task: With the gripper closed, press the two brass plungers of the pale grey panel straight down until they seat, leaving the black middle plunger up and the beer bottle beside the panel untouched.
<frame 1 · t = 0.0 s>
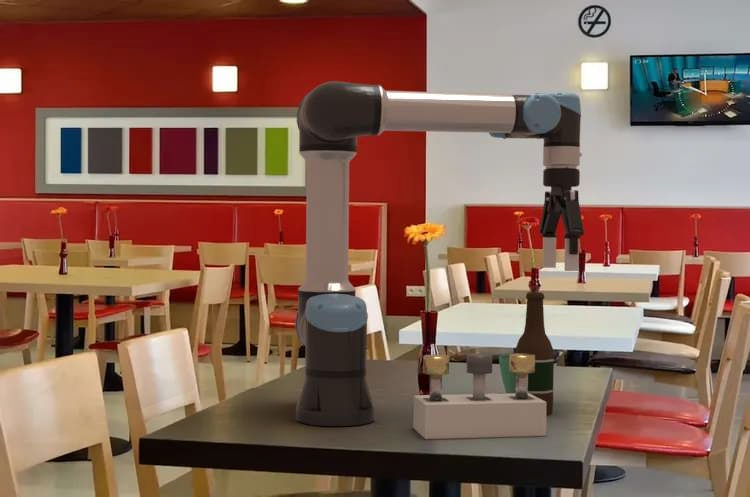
hand: (560, 269, 227), 28 cm above the table, fingers open, 13 cm apart
knob mid: (479, 377, 195), point 10 cm above the table, slide at 4.0 cm
mug: (525, 404, 226), on the table
knob left: (436, 378, 193), point 10 cm above the table, slide at 4.0 cm
beer bottle: (533, 413, 215), on the table
knob right: (521, 377, 196), point 10 cm above the table, slide at 4.0 cm
panel: (478, 431, 195), on the table
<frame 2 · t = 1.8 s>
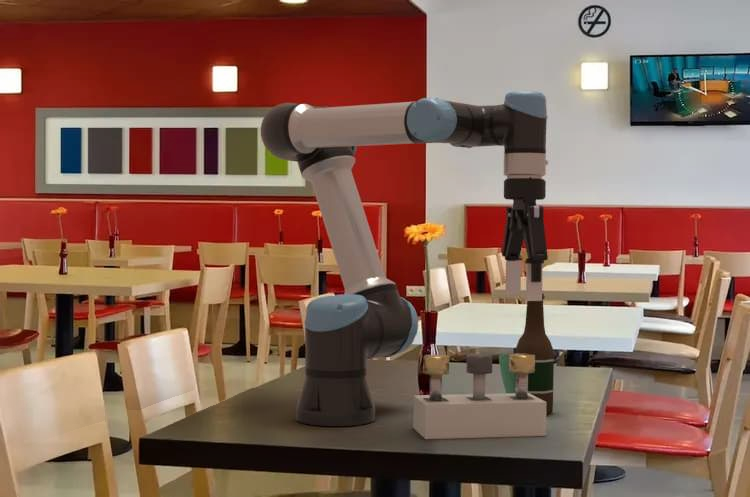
hand: (523, 298, 196), 24 cm above the table, fingers open, 11 cm apart
nothing on the table moved.
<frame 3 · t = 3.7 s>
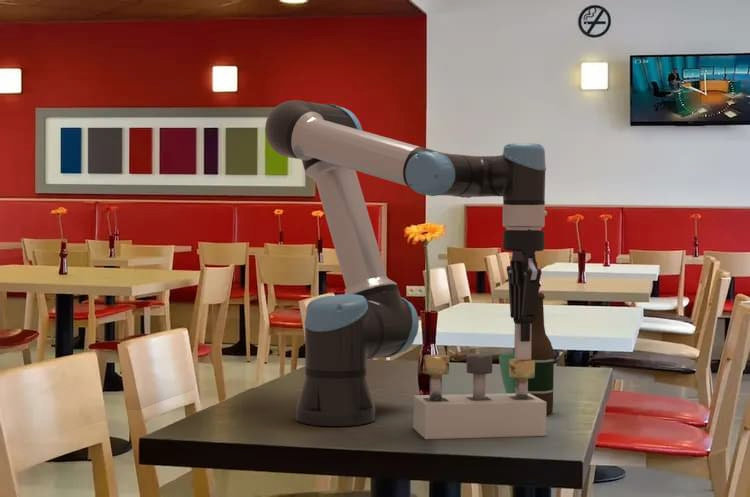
hand: (522, 358, 196), 13 cm above the table, fingers closed
knob right: (521, 382, 196), point 9 cm above the table, slide at 3.0 cm, touching gripper
everything else where it was.
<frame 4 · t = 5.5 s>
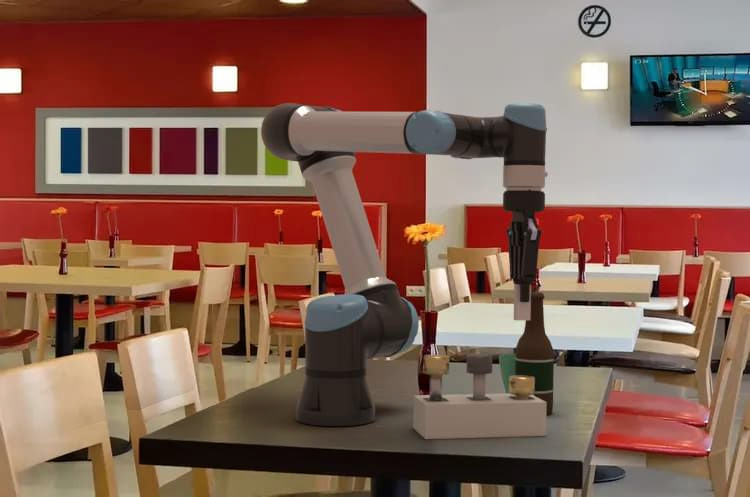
hand: (522, 319, 196), 20 cm above the table, fingers closed
knob right: (521, 398, 196), point 6 cm above the table, slide at 0.0 cm
everything else where it was.
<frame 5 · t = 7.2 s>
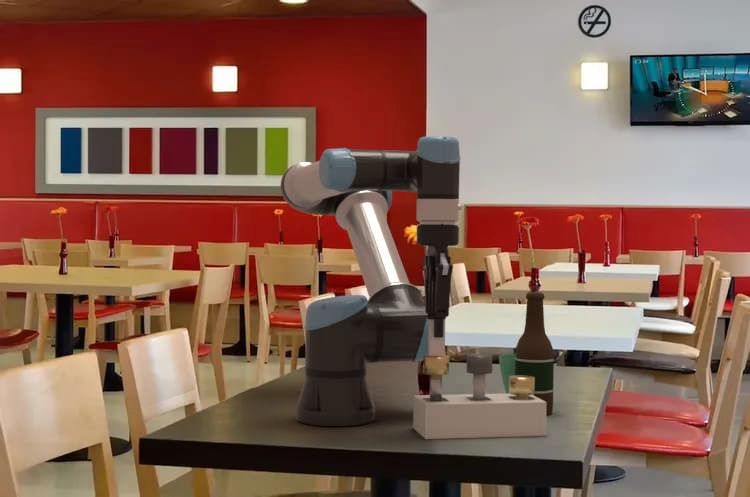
hand: (436, 355, 193), 14 cm above the table, fingers closed
knob left: (436, 378, 193), point 10 cm above the table, slide at 3.9 cm, touching gripper
everything else where it was.
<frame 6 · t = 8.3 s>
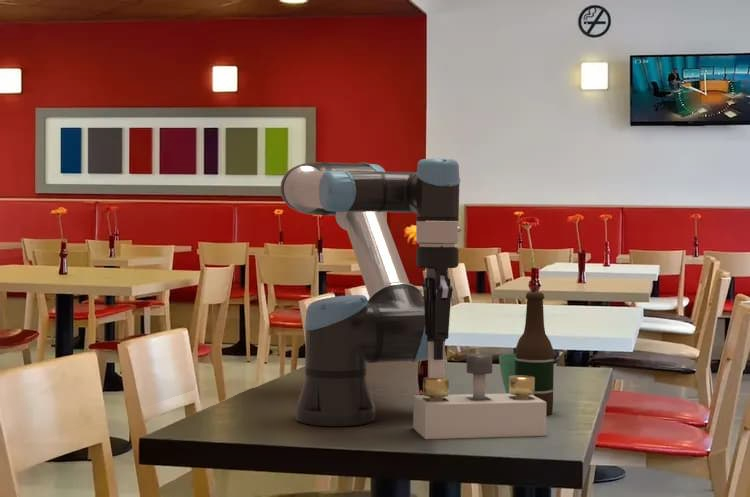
hand: (436, 377, 193), 10 cm above the table, fingers closed
knob left: (435, 400, 194), point 6 cm above the table, slide at 0.0 cm, touching gripper
everything else where it was.
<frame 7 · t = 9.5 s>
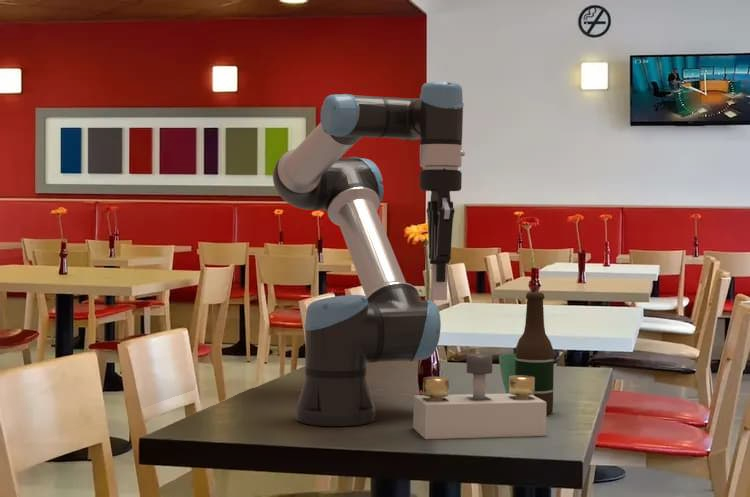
hand: (438, 299, 195), 24 cm above the table, fingers closed
knob left: (435, 400, 194), point 6 cm above the table, slide at 0.0 cm
everything else where it was.
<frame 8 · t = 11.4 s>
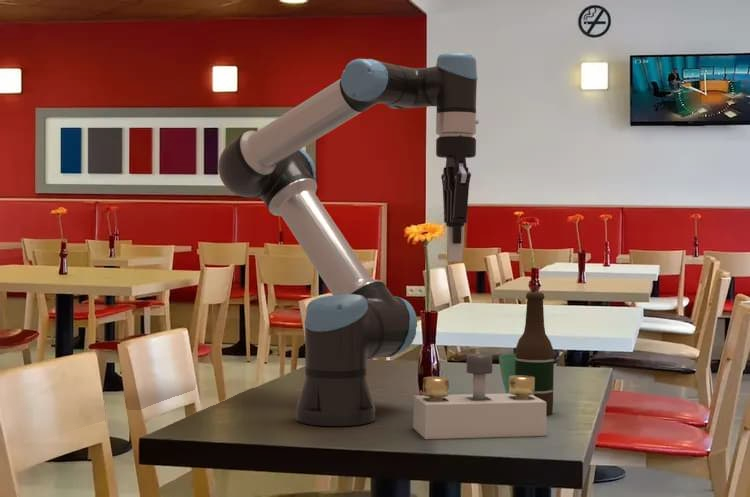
hand: (454, 261, 205), 30 cm above the table, fingers closed
nothing on the table moved.
at the end: knob right slide at 0.0 cm; knob left slide at 0.0 cm; knob mid slide at 4.0 cm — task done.
